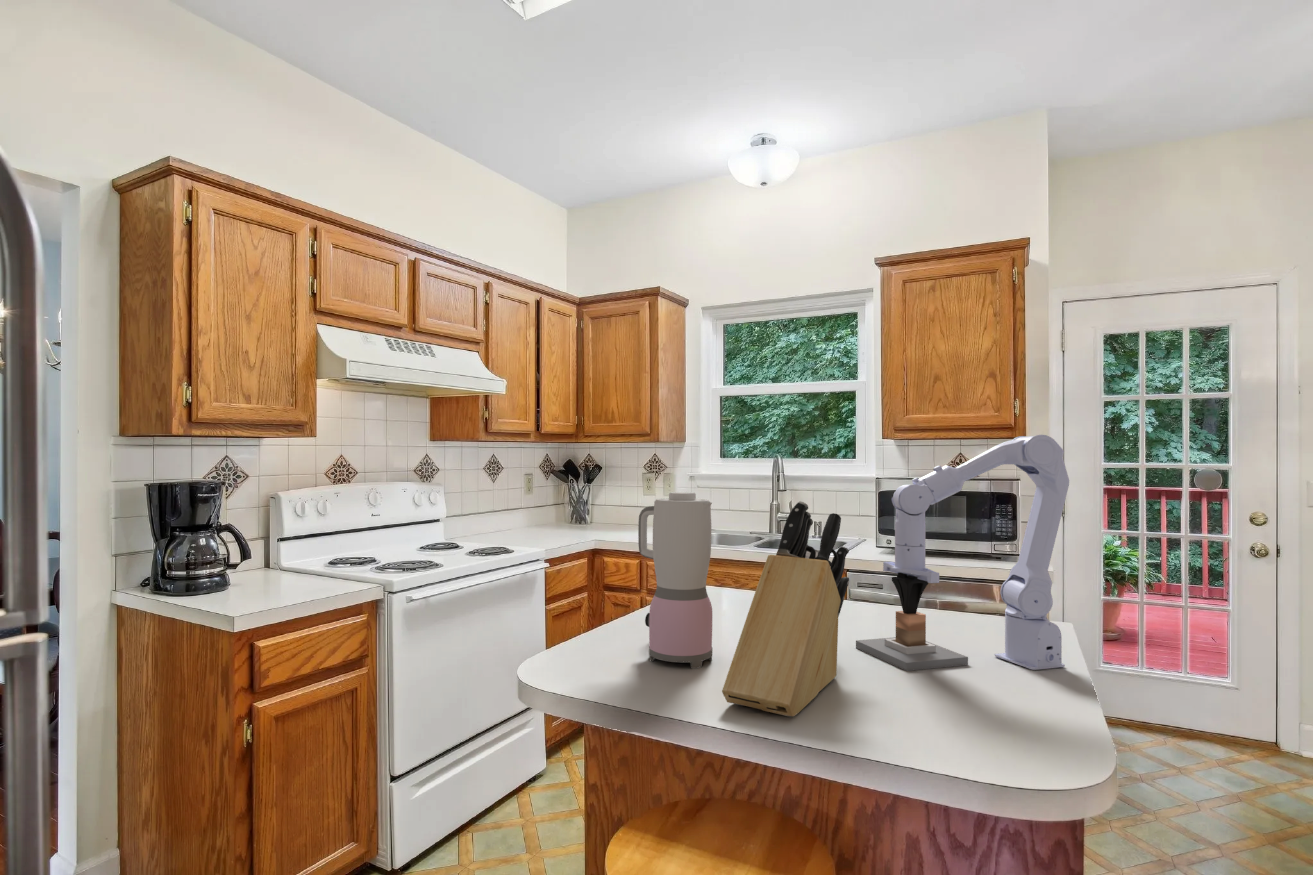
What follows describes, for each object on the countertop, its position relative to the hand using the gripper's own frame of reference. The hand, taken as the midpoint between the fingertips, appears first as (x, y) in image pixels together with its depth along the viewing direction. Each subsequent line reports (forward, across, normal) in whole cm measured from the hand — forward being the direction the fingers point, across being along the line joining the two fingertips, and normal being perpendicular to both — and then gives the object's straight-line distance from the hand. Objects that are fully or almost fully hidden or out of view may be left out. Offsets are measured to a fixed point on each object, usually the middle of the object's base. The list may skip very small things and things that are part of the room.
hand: (909, 613), depth 137 cm
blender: (+9, -11, -46) cm, 48 cm away
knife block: (+9, +10, -31) cm, 34 cm away
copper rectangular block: (+7, 0, 0) cm, 7 cm away
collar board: (+8, 0, 0) cm, 8 cm away
